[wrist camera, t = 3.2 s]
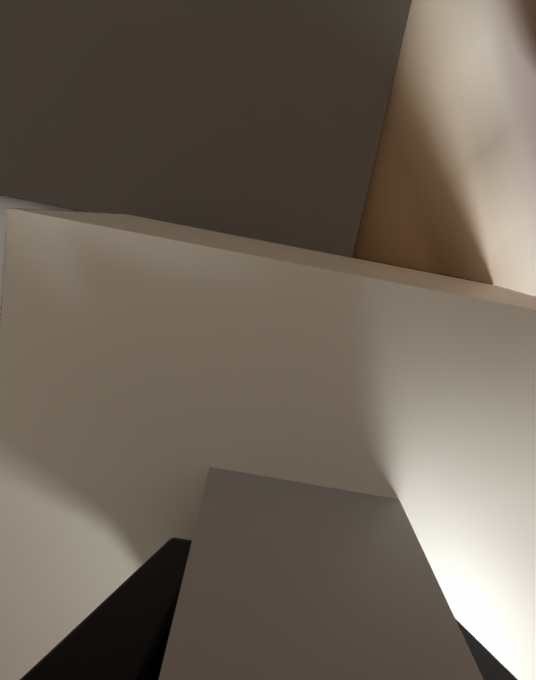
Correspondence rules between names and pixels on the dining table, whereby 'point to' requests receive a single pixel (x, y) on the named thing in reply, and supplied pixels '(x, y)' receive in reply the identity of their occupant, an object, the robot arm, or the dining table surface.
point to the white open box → (264, 451)
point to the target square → (200, 111)
